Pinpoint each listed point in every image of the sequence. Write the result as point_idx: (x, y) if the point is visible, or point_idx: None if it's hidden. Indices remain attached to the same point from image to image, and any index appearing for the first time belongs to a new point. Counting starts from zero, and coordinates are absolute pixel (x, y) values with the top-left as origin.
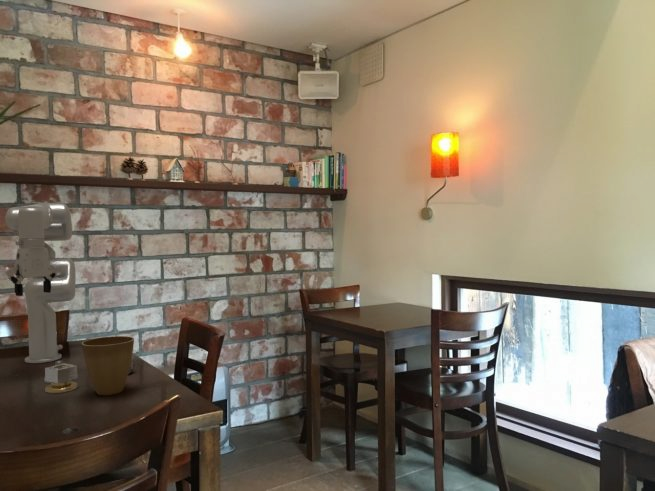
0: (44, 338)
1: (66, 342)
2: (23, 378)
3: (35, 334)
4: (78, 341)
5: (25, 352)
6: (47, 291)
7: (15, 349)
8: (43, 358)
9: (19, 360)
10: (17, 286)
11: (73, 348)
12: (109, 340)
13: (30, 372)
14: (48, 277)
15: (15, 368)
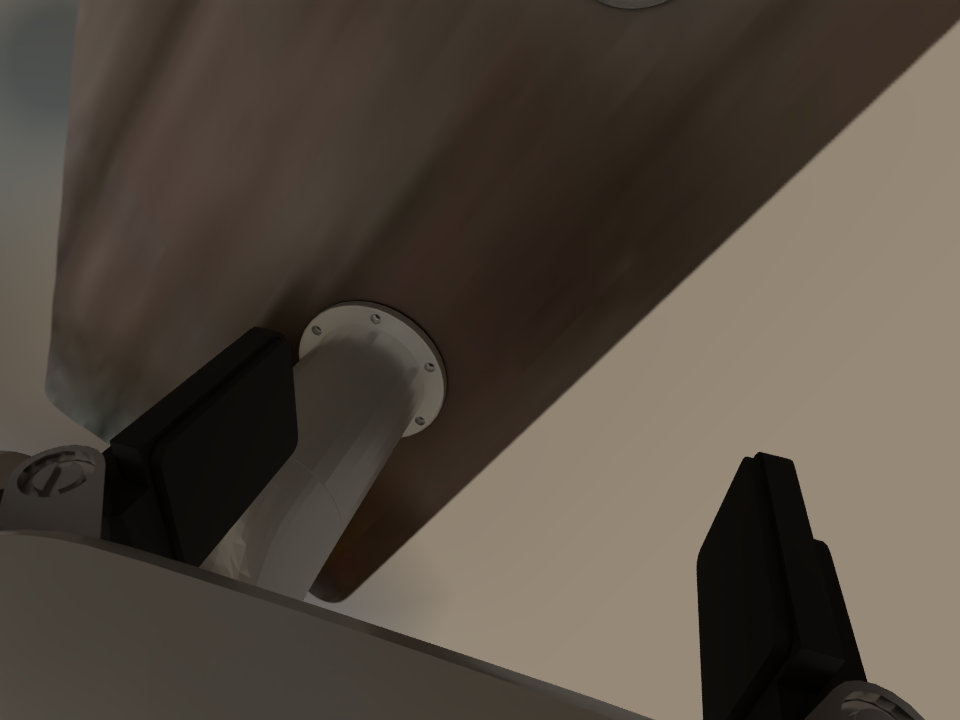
0: (346, 393)
1: None
2: (673, 174)
3: (366, 442)
4: None
5: None
6: (283, 369)
7: (330, 571)
8: (398, 342)
9: (428, 451)
10: (855, 655)
11: None
12: None
13: (564, 241)
14: (65, 529)
15: (531, 370)
